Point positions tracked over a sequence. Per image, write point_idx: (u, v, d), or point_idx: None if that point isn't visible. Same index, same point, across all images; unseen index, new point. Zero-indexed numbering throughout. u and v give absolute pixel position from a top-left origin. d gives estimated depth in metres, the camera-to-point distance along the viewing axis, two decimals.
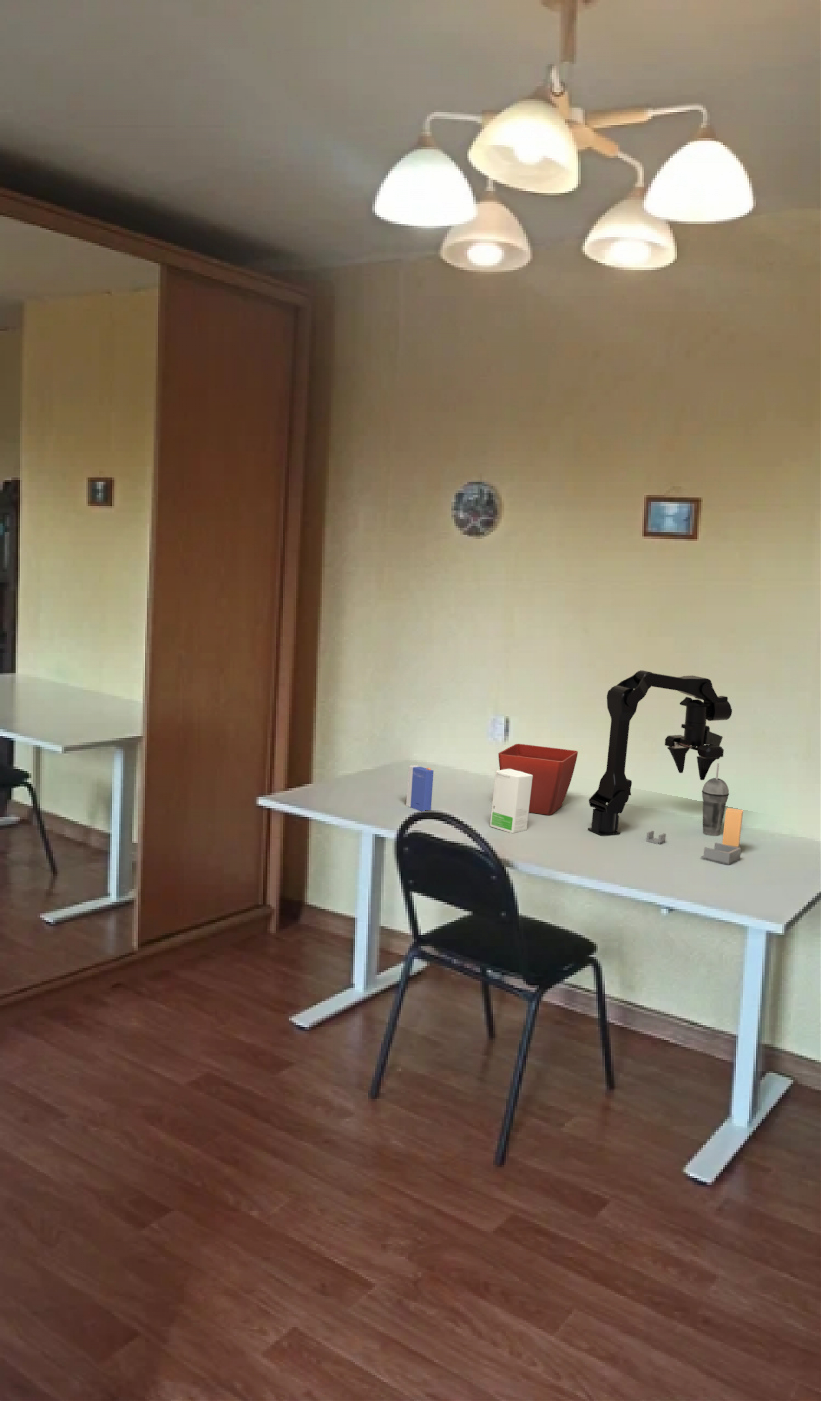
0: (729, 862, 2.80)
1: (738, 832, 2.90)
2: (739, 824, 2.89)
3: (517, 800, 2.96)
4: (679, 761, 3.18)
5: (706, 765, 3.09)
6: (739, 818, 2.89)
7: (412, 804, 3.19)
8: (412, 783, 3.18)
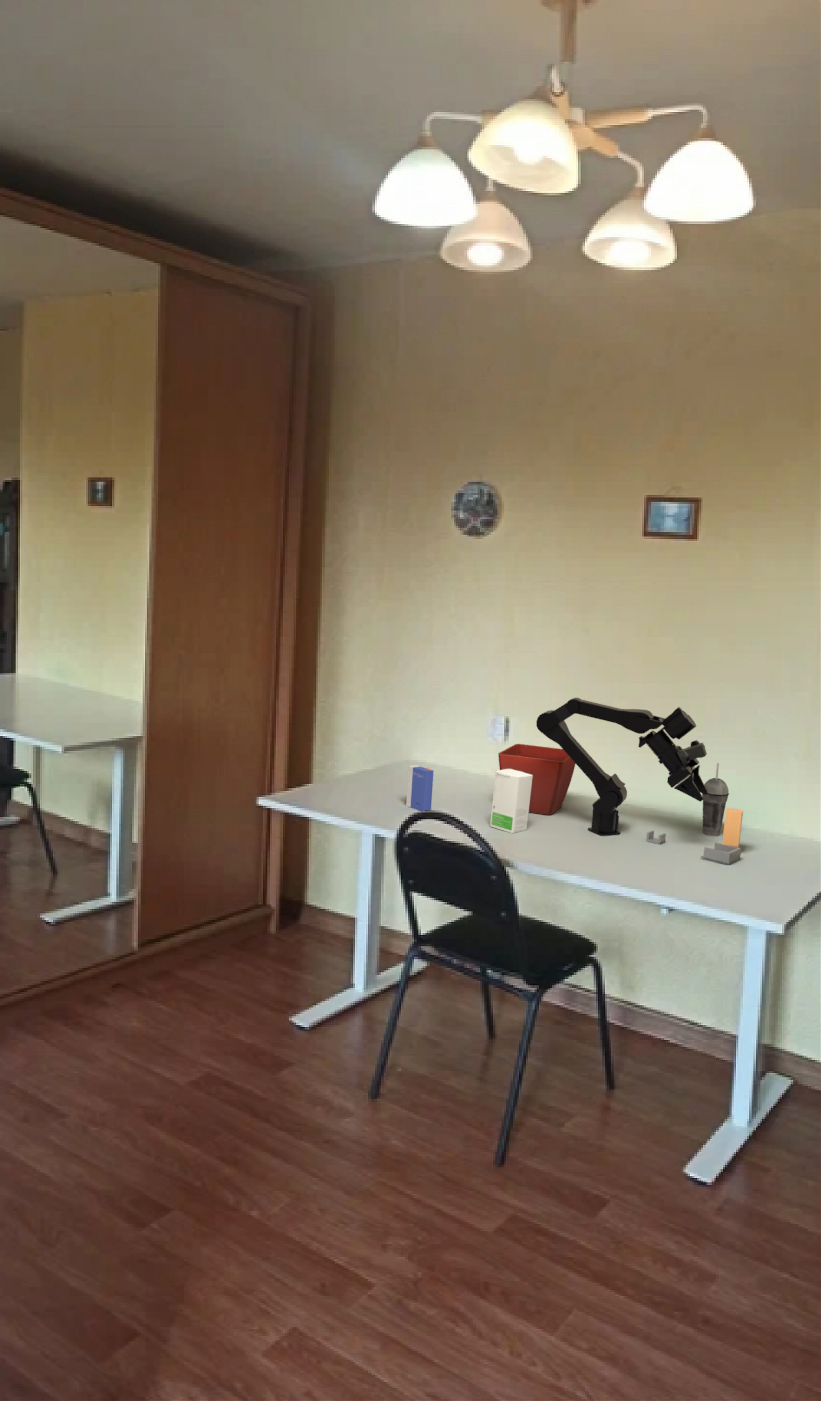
0: (729, 862, 2.80)
1: (738, 832, 2.90)
2: (739, 824, 2.89)
3: (517, 800, 2.96)
4: (695, 785, 2.99)
5: (690, 787, 2.89)
6: (739, 818, 2.89)
7: (412, 804, 3.19)
8: (412, 783, 3.18)
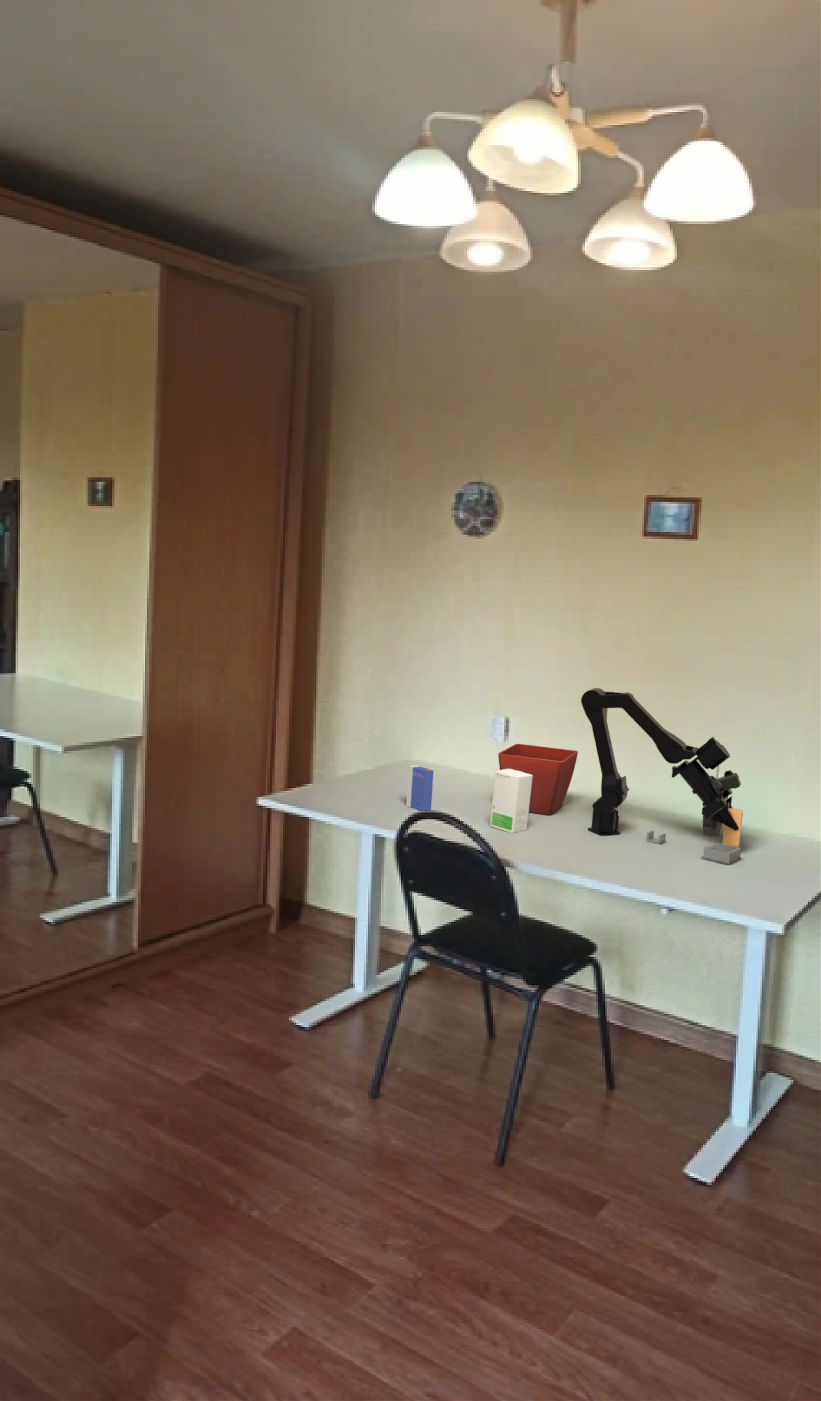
0: (729, 862, 2.80)
1: (738, 832, 2.90)
2: (739, 824, 2.89)
3: (517, 800, 2.96)
4: None
5: (726, 816, 2.89)
6: (739, 818, 2.89)
7: (412, 804, 3.19)
8: (412, 783, 3.18)
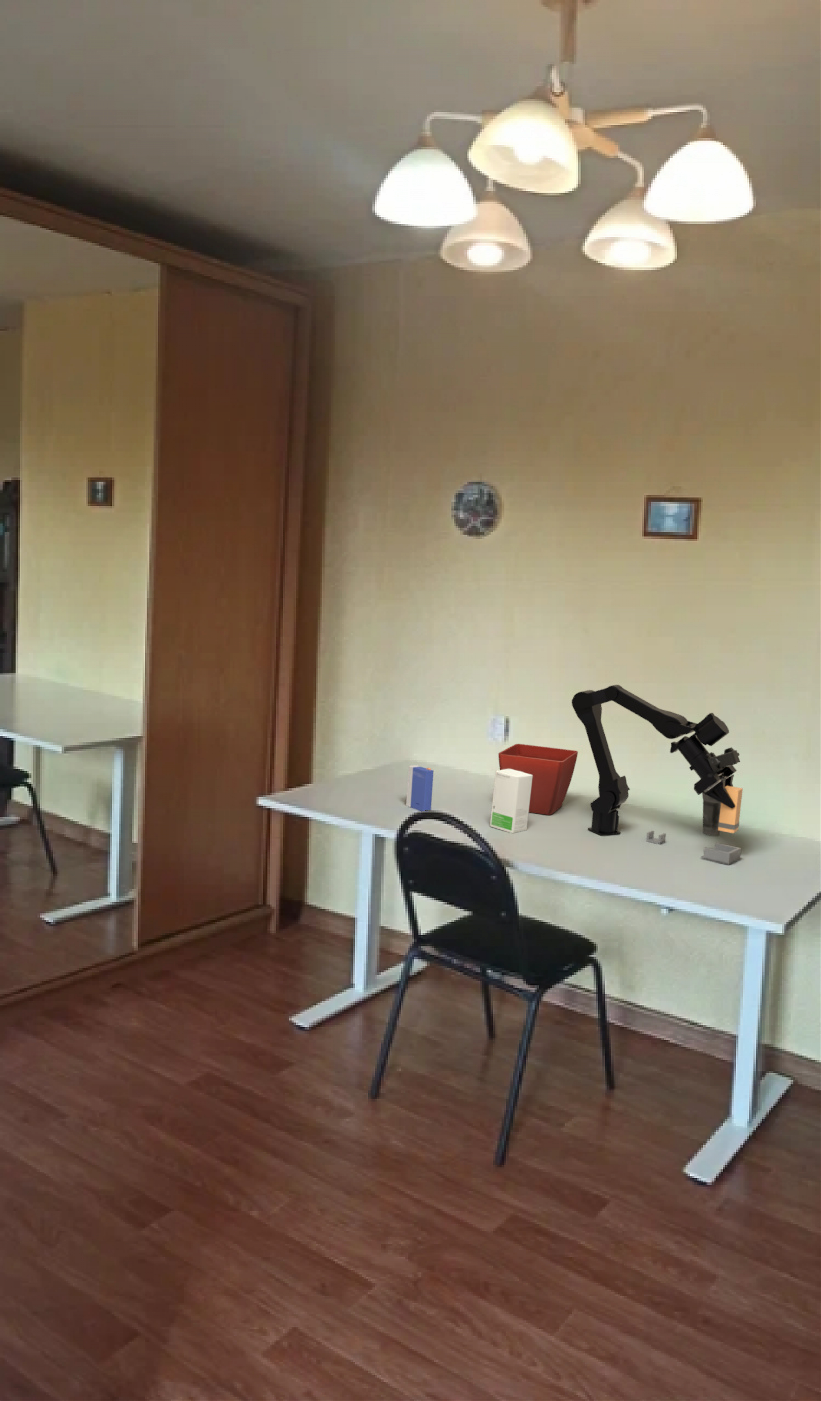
0: (729, 862, 2.80)
1: (735, 810, 2.83)
2: (736, 802, 2.83)
3: (517, 800, 2.96)
4: None
5: (721, 794, 2.83)
6: (736, 796, 2.83)
7: (412, 804, 3.19)
8: (412, 783, 3.18)
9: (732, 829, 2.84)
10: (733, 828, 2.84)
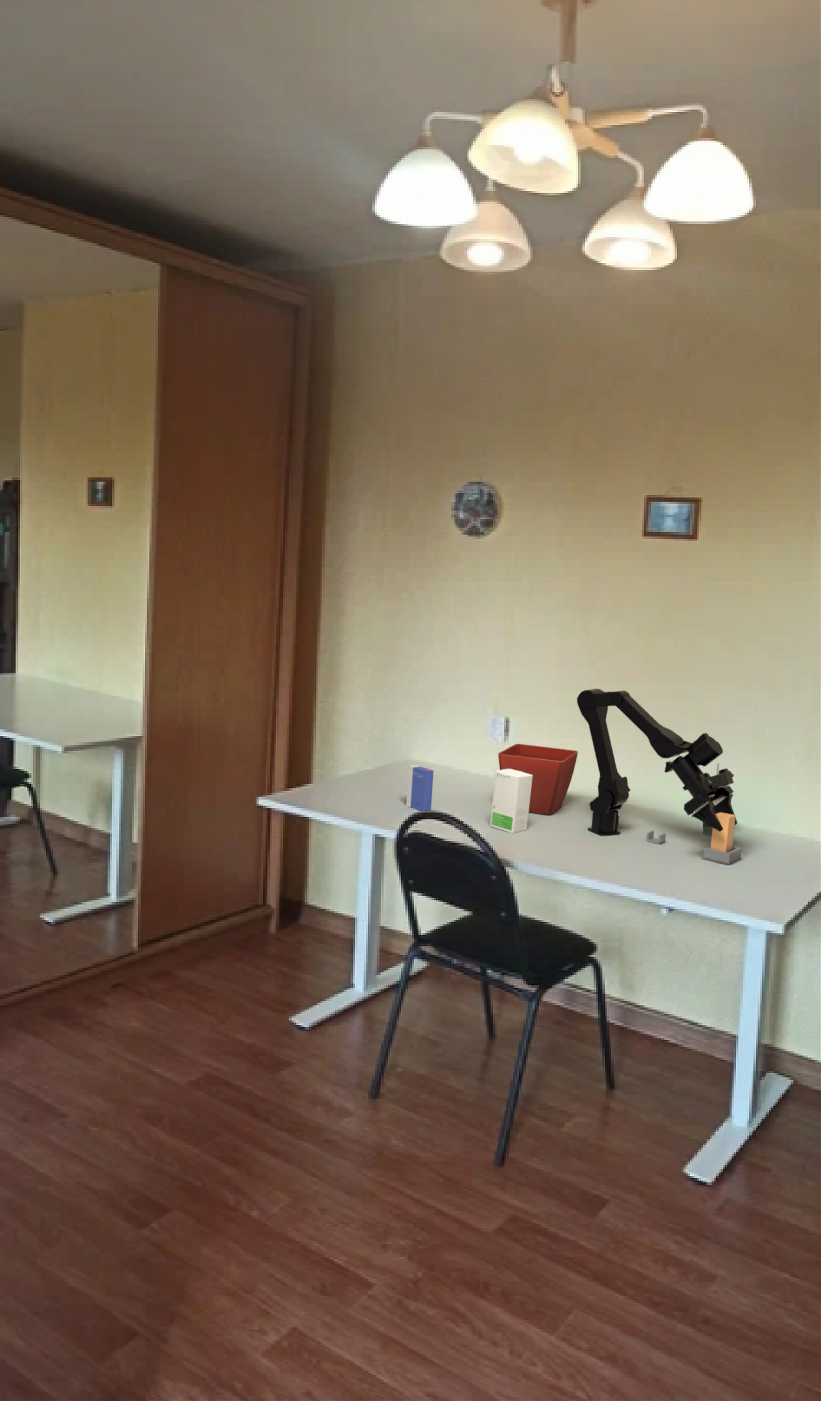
0: (729, 862, 2.80)
1: (726, 837, 2.81)
2: (727, 829, 2.81)
3: (517, 800, 2.96)
4: None
5: (709, 816, 2.79)
6: (727, 823, 2.81)
7: (412, 804, 3.19)
8: (412, 783, 3.18)
9: None
10: None
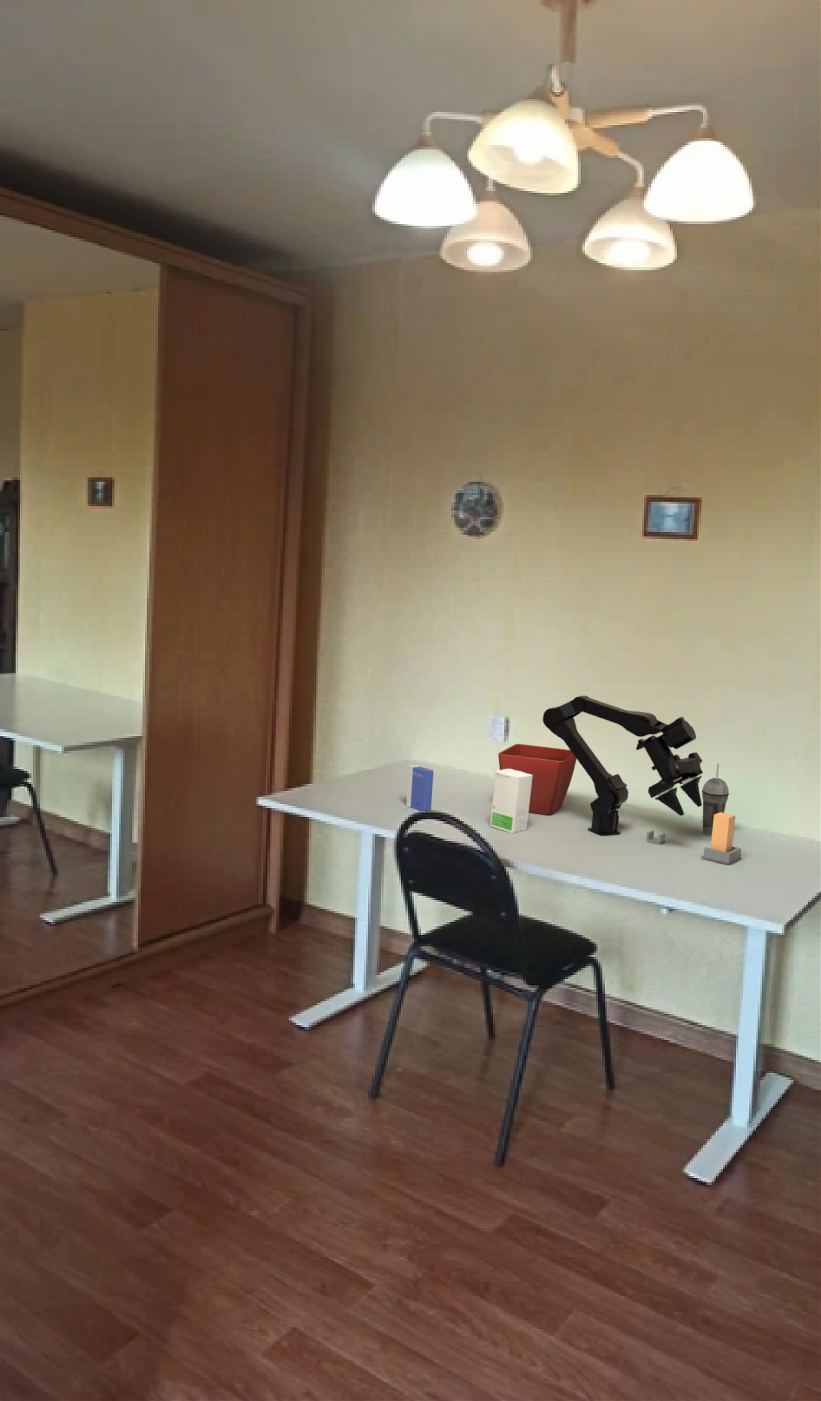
0: (729, 862, 2.80)
1: (726, 837, 2.81)
2: (727, 829, 2.81)
3: (516, 800, 2.96)
4: (691, 795, 2.95)
5: (672, 801, 2.87)
6: (727, 823, 2.81)
7: (412, 804, 3.19)
8: (412, 783, 3.18)
9: None
10: None
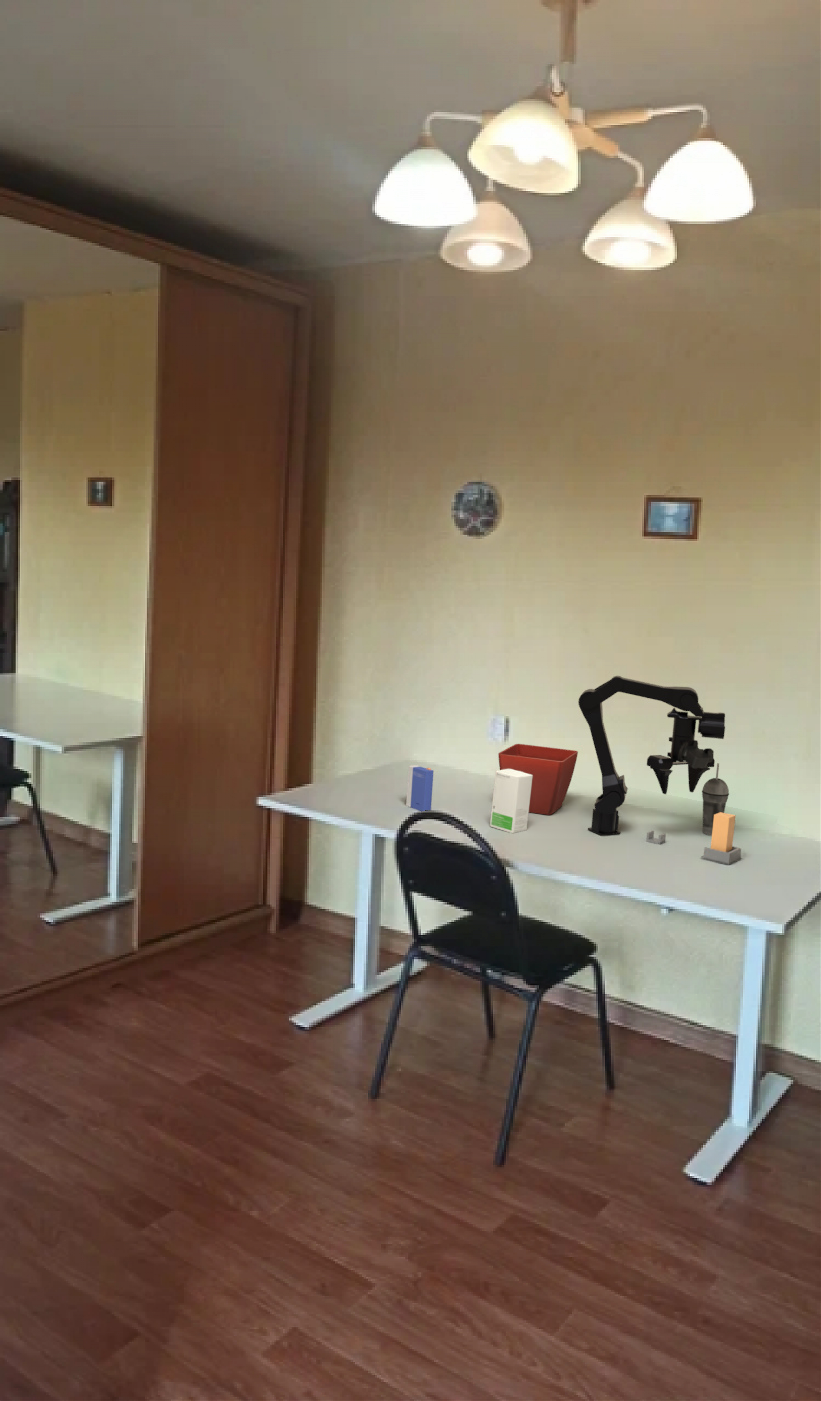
0: (729, 862, 2.80)
1: (726, 837, 2.81)
2: (727, 829, 2.81)
3: (517, 800, 2.96)
4: (690, 779, 3.01)
5: (662, 778, 2.95)
6: (727, 823, 2.81)
7: (412, 804, 3.19)
8: (412, 783, 3.18)
9: None
10: None
